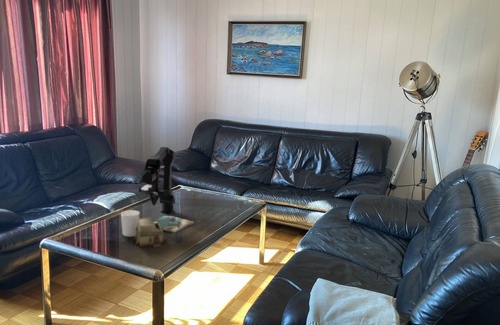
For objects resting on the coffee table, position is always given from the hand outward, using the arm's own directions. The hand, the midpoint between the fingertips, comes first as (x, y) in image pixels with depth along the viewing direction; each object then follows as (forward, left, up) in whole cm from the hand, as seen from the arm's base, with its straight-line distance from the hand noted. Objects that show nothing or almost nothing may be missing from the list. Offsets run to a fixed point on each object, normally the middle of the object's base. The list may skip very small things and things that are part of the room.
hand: (154, 205), depth 232 cm
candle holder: (-1, -18, -12) cm, 21 cm away
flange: (+8, +4, -10) cm, 14 cm away
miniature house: (+15, -20, -12) cm, 28 cm away
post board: (+8, +6, -12) cm, 16 cm away
